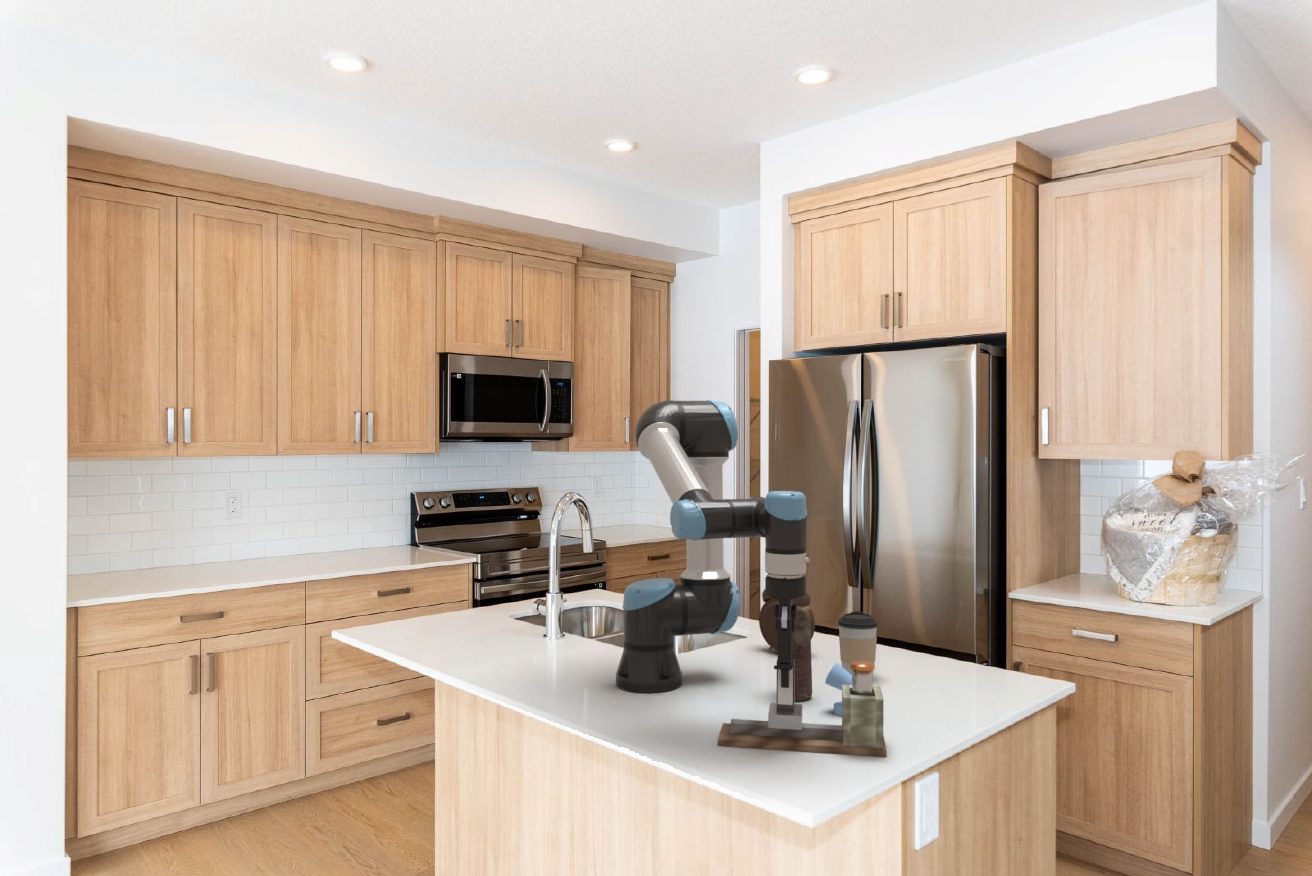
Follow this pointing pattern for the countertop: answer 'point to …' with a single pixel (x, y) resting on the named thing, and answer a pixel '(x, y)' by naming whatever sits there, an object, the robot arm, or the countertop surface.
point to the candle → (802, 653)
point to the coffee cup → (857, 638)
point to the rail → (792, 744)
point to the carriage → (785, 711)
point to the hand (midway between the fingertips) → (785, 701)
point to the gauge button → (862, 677)
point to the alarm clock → (769, 620)
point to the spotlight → (838, 683)
